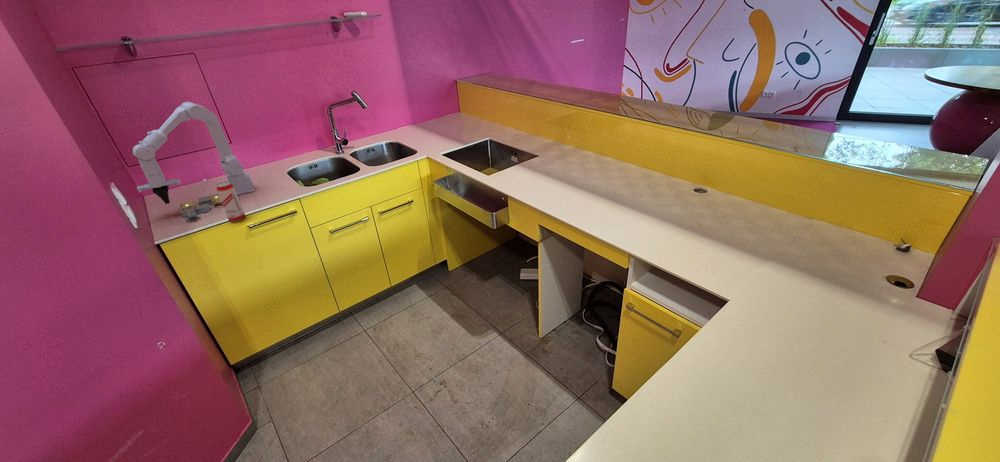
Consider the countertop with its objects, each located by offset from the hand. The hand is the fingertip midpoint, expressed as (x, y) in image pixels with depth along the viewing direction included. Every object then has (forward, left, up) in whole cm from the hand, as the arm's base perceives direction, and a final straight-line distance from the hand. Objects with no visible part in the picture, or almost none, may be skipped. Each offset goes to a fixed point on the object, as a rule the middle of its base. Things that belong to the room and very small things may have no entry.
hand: (167, 202), depth 180 cm
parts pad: (-8, +11, -6) cm, 15 cm away
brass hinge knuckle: (-9, +2, -5) cm, 11 cm away
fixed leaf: (-15, -3, -6) cm, 16 cm away
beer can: (-24, +22, -6) cm, 33 cm away
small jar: (-8, +11, -5) cm, 15 cm away
